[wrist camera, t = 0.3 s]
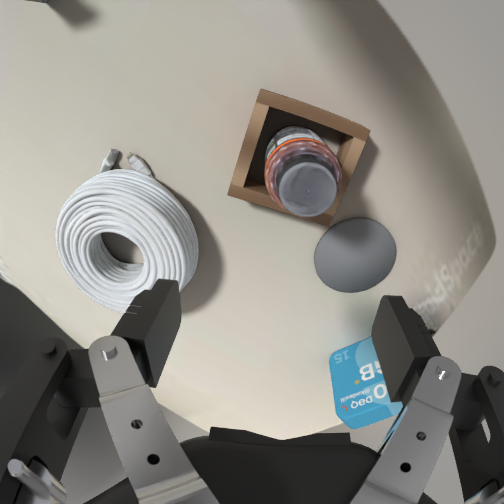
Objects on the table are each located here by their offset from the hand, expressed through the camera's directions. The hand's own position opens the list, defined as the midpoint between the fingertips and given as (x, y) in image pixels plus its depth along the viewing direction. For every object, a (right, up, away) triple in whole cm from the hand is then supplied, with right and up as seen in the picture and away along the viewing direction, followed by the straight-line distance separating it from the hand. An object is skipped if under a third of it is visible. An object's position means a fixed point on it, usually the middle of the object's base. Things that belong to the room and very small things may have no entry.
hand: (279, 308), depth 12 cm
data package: (+17, -12, +32) cm, 38 cm away
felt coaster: (+11, +2, +24) cm, 27 cm away
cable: (-15, +4, +25) cm, 29 cm away
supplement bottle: (+3, +12, +18) cm, 22 cm away
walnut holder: (+3, +12, +18) cm, 22 cm away
